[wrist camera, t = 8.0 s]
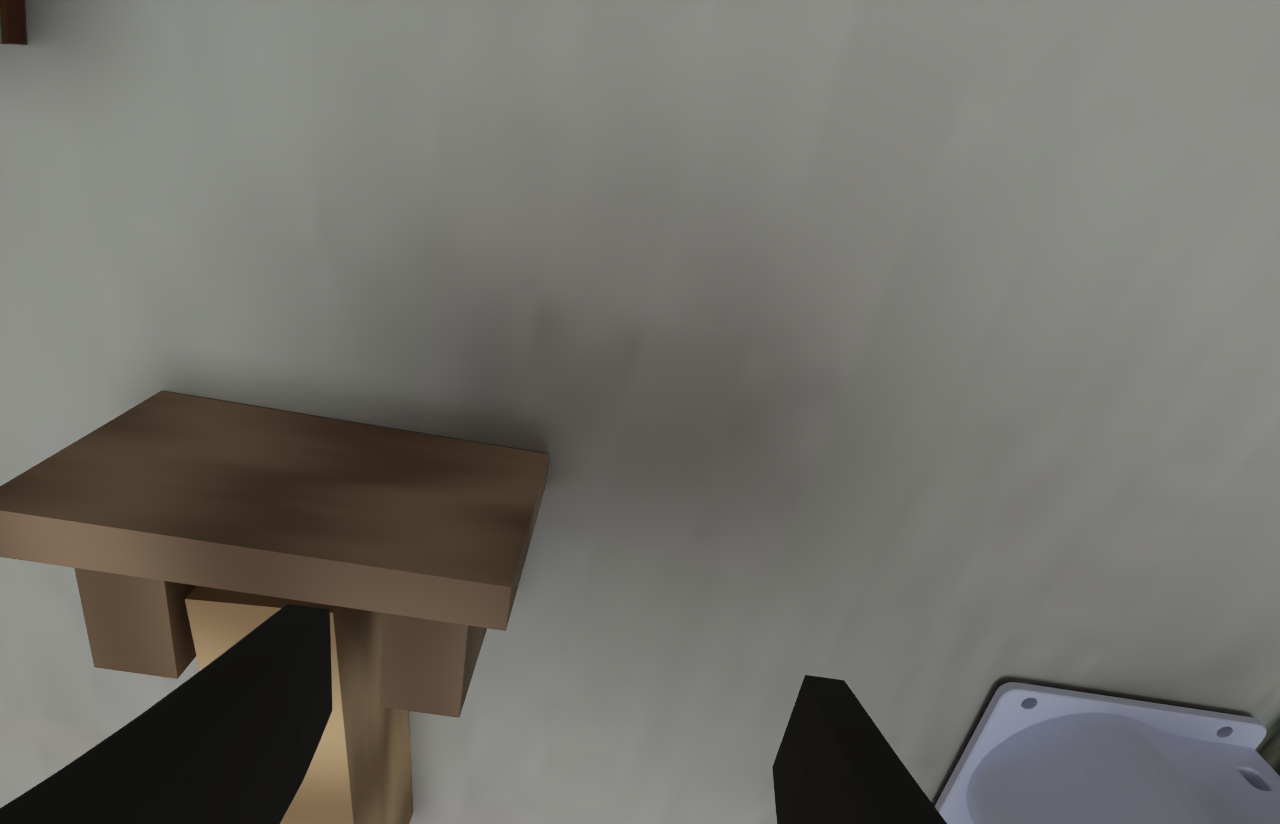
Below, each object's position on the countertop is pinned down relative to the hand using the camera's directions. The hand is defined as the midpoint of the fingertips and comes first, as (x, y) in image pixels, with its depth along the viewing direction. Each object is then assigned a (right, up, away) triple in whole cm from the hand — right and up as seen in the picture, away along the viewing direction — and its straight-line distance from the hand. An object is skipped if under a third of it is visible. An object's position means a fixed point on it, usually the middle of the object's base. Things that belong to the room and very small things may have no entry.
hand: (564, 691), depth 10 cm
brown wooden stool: (-8, +1, +11) cm, 13 cm away
